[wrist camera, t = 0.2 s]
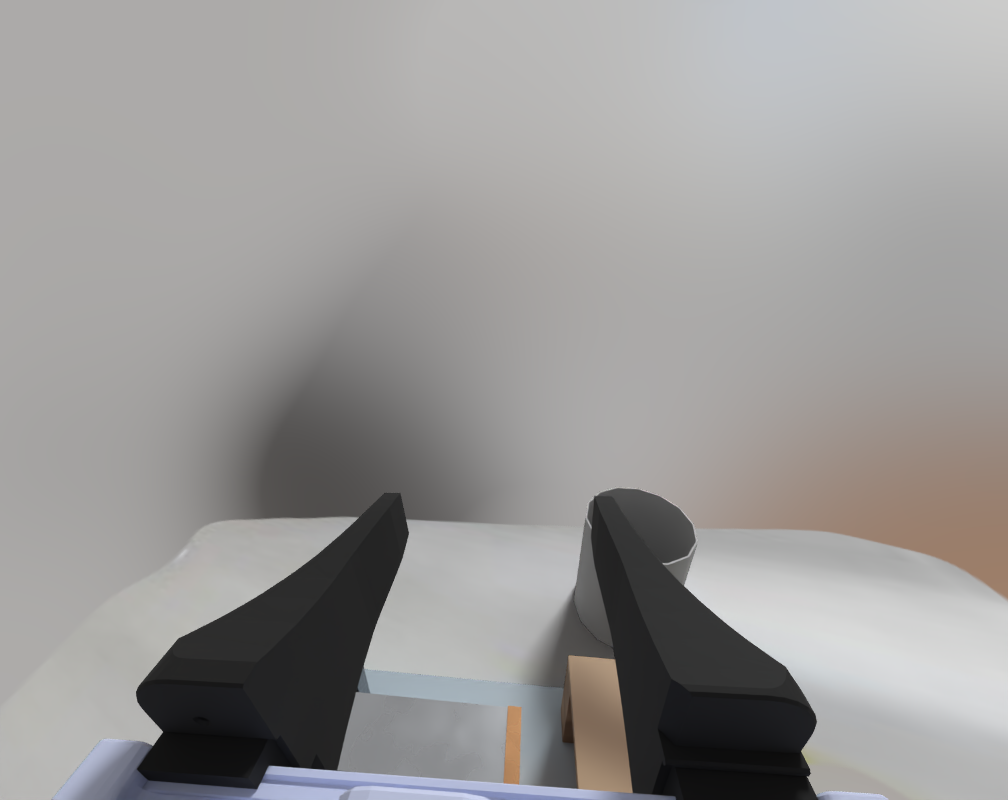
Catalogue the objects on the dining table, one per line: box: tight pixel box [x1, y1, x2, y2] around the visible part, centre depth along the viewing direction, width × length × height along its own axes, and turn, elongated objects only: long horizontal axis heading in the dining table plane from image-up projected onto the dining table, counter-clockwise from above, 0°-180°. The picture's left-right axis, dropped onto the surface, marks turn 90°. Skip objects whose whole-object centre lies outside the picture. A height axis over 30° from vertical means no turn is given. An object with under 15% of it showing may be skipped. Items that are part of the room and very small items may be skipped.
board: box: [364, 669, 577, 789], centre depth 23 cm, size 11×25×1 cm, turn 86°
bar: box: [337, 692, 522, 785], centre depth 22 cm, size 4×17×5 cm, turn 85°
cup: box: [574, 487, 698, 647], centre depth 31 cm, size 8×8×10 cm
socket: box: [561, 655, 633, 793], centre depth 20 cm, size 8×4×6 cm, turn 176°
